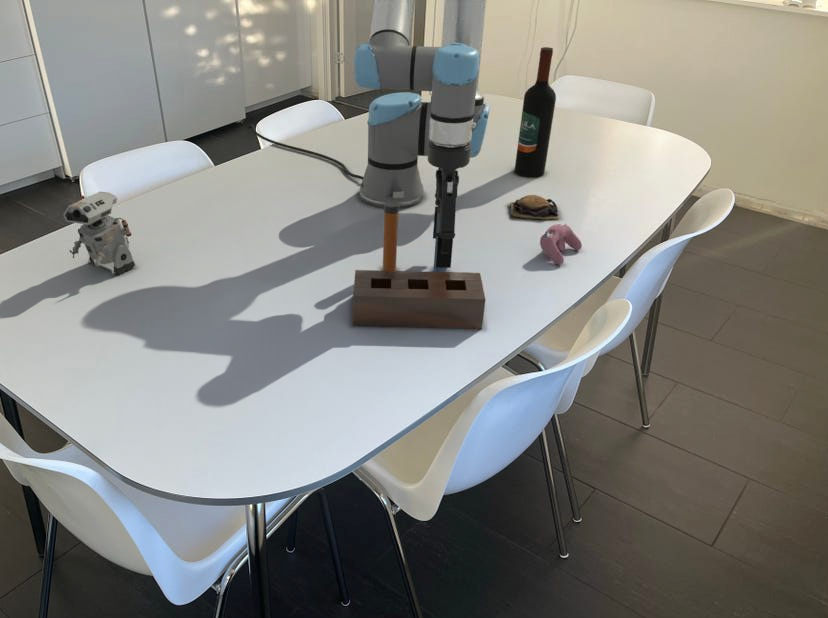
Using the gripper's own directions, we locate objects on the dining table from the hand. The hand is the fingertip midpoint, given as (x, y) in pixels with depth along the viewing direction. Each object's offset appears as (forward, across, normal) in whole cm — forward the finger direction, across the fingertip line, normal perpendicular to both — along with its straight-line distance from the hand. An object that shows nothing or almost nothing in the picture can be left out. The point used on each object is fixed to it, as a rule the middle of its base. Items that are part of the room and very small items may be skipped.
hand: (441, 251), depth 142 cm
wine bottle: (+4, +55, -26) cm, 61 cm away
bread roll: (+4, +30, -23) cm, 38 cm away
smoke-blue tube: (+4, 0, 0) cm, 4 cm away
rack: (+4, -16, +5) cm, 17 cm away
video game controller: (+5, +9, -25) cm, 27 cm away
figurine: (+5, -2, +66) cm, 67 cm away
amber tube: (+4, 0, +10) cm, 11 cm away
